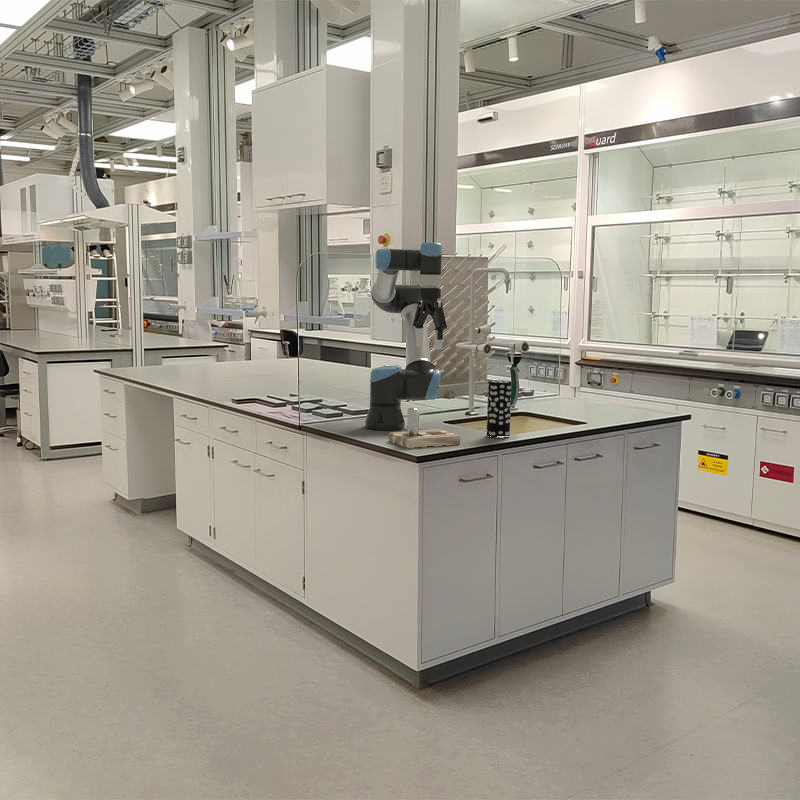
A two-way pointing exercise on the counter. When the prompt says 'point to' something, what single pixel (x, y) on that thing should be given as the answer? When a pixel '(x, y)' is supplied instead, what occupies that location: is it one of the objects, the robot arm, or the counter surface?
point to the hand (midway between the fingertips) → (428, 348)
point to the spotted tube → (499, 408)
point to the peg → (413, 422)
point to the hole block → (425, 438)
